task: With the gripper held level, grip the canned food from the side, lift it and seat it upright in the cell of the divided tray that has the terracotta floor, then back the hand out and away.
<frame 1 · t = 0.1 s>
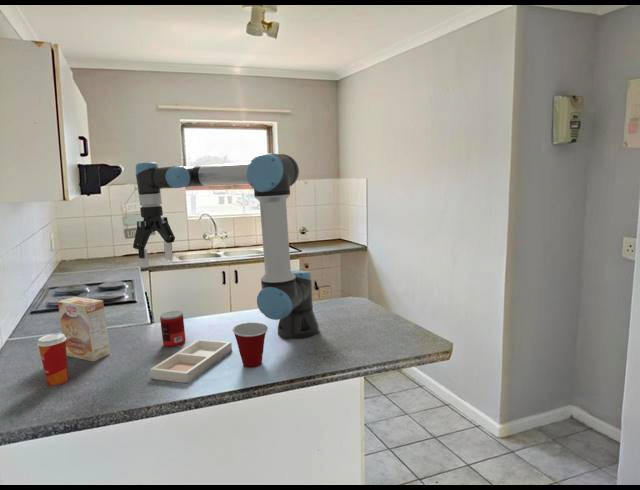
hand: (157, 263, 173), 28 cm above the countertop, tool pointing down, fingers open, 13 cm apart
coffeecake box: (87, 355, 161), on the countertop
paper cup: (58, 382, 141), on the countertop
canned food: (174, 344, 168), on the countertop
divided tray: (194, 363, 149), on the countertop
plastic cup: (253, 364, 146), on the countertop
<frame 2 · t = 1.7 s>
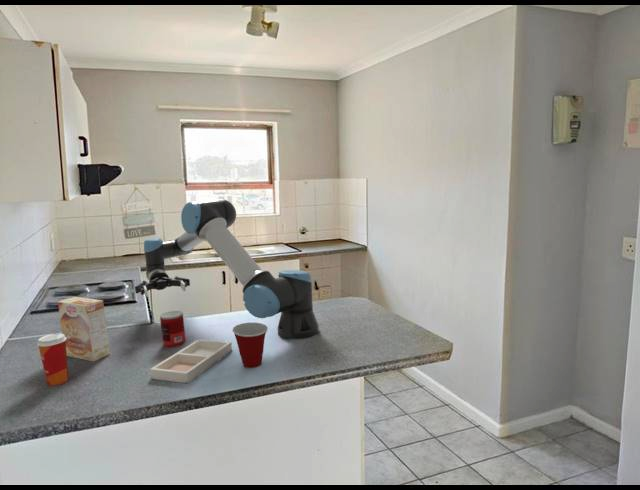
hand: (165, 290, 174), 18 cm above the countertop, tool horizontal, fingers open, 13 cm apart
nothing on the countertop moved.
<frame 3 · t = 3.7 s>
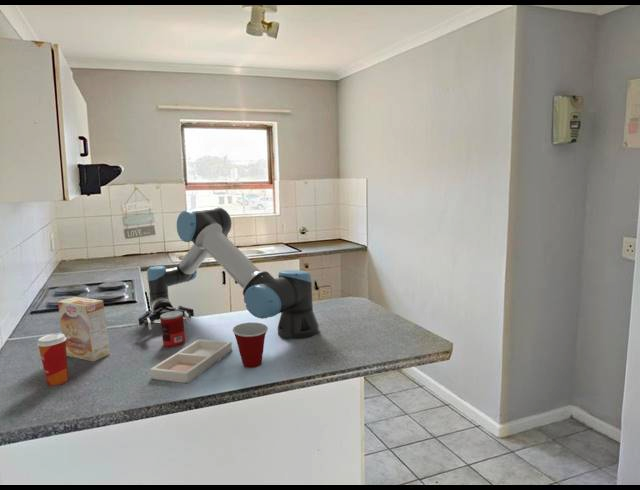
hand: (169, 322, 172), 6 cm above the countertop, tool horizontal, fingers open, 13 cm apart
nothing on the countertop moved.
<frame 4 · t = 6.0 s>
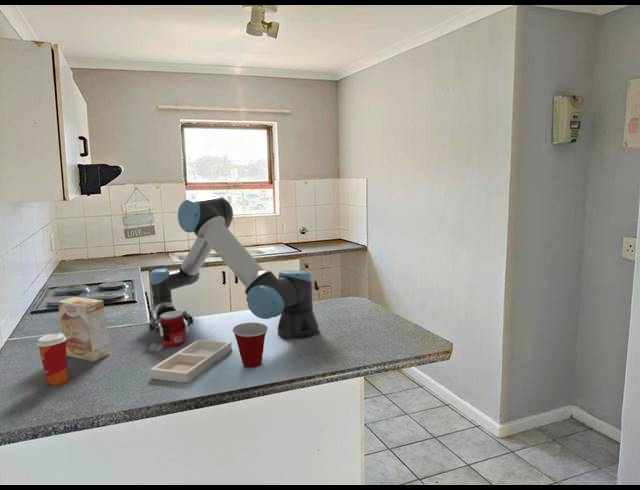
hand: (174, 329, 163), 7 cm above the countertop, tool horizontal, fingers closed on canned food, 8 cm apart
canned food: (174, 344, 168), on the countertop, touching gripper
everything else where it was.
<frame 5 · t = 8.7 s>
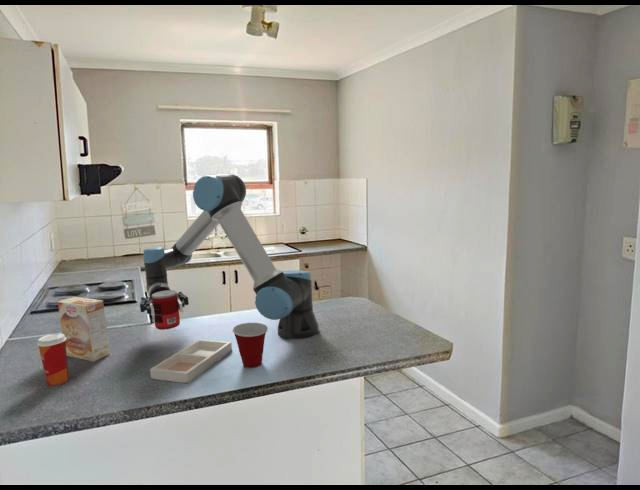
hand: (167, 310, 147), 18 cm above the countertop, tool horizontal, fingers closed on canned food, 8 cm apart
canned food: (167, 326, 152), point 11 cm above the countertop, touching gripper
everything else where it was.
when the fingers open (9 cm above the countertop, at t = 11.6 s): canned food drops 2 cm, resting on divided tray.
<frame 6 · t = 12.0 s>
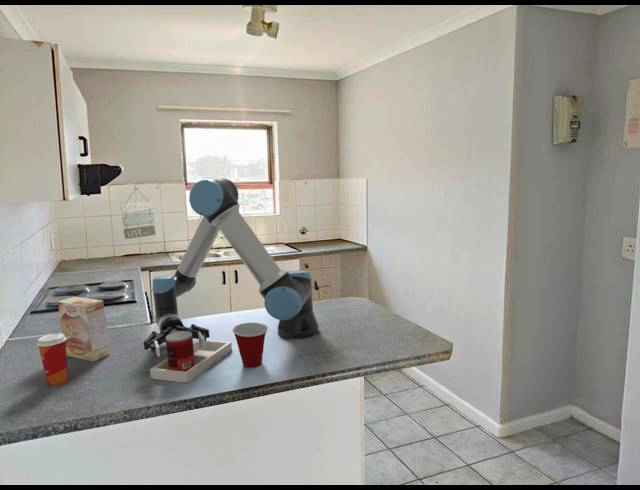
hand: (181, 347, 139), 9 cm above the countertop, tool horizontal, fingers open, 12 cm apart
canned food: (182, 370, 143), point 1 cm above the countertop, touching divided tray
everything else where it was.
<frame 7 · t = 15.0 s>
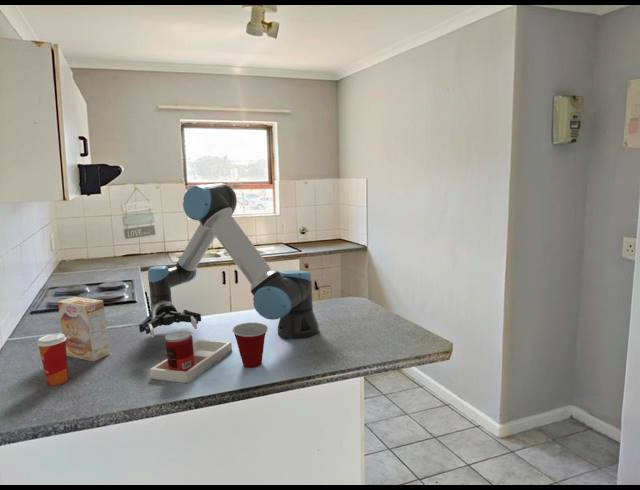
hand: (174, 329, 152), 10 cm above the countertop, tool horizontal, fingers open, 13 cm apart
nothing on the countertop moved.
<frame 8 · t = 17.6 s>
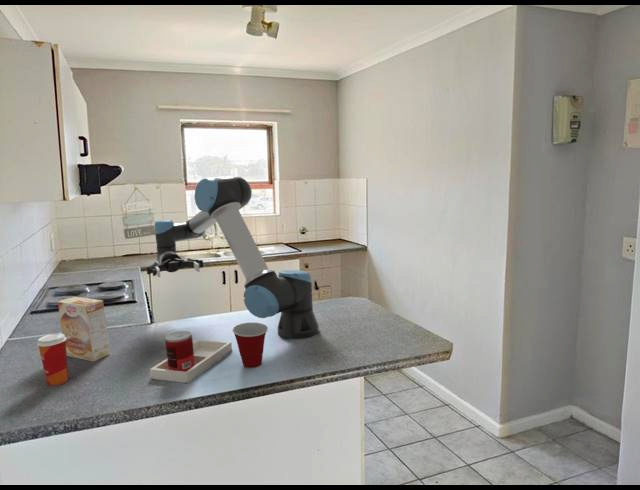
hand: (178, 270, 166), 26 cm above the countertop, tool horizontal, fingers open, 13 cm apart
nothing on the countertop moved.
at the end: canned food 0.1 cm from the target spot on the divided tray, point 0.5 cm above the divided tray's base; canned food tilted 0°; the gripper is holding nothing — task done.
